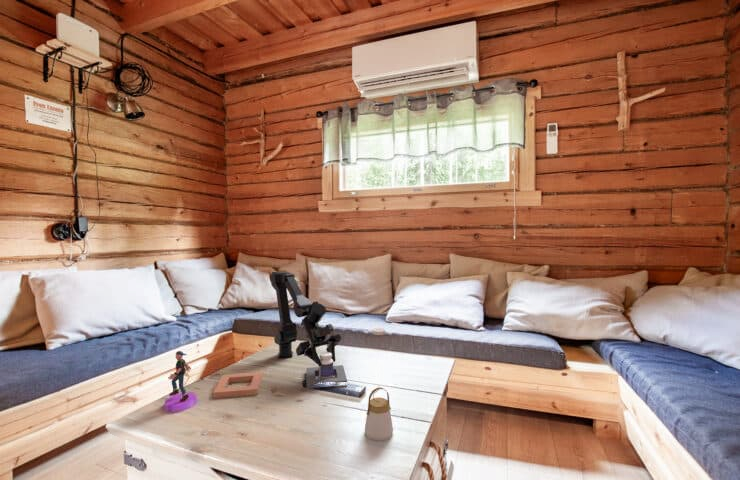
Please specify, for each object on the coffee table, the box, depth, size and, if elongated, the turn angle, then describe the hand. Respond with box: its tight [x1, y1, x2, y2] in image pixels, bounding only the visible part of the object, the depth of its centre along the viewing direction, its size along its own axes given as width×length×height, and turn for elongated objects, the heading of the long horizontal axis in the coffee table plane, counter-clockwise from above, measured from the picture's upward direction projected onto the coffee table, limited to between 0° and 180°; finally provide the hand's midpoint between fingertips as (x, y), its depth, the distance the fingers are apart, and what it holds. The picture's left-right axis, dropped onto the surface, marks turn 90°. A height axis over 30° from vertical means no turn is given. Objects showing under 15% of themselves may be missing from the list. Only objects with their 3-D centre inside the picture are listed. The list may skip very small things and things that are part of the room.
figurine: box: [164, 350, 197, 413], centre depth 117 cm, size 9×9×18 cm
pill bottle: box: [318, 351, 334, 379], centre depth 137 cm, size 6×6×10 cm
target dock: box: [212, 371, 264, 399], centre depth 131 cm, size 15×15×2 cm
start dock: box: [305, 364, 348, 390], centre depth 137 cm, size 15×15×2 cm
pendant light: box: [364, 327, 394, 442], centre depth 101 cm, size 8×8×30 cm
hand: (327, 363), depth 136 cm, fingers open, 6 cm apart
